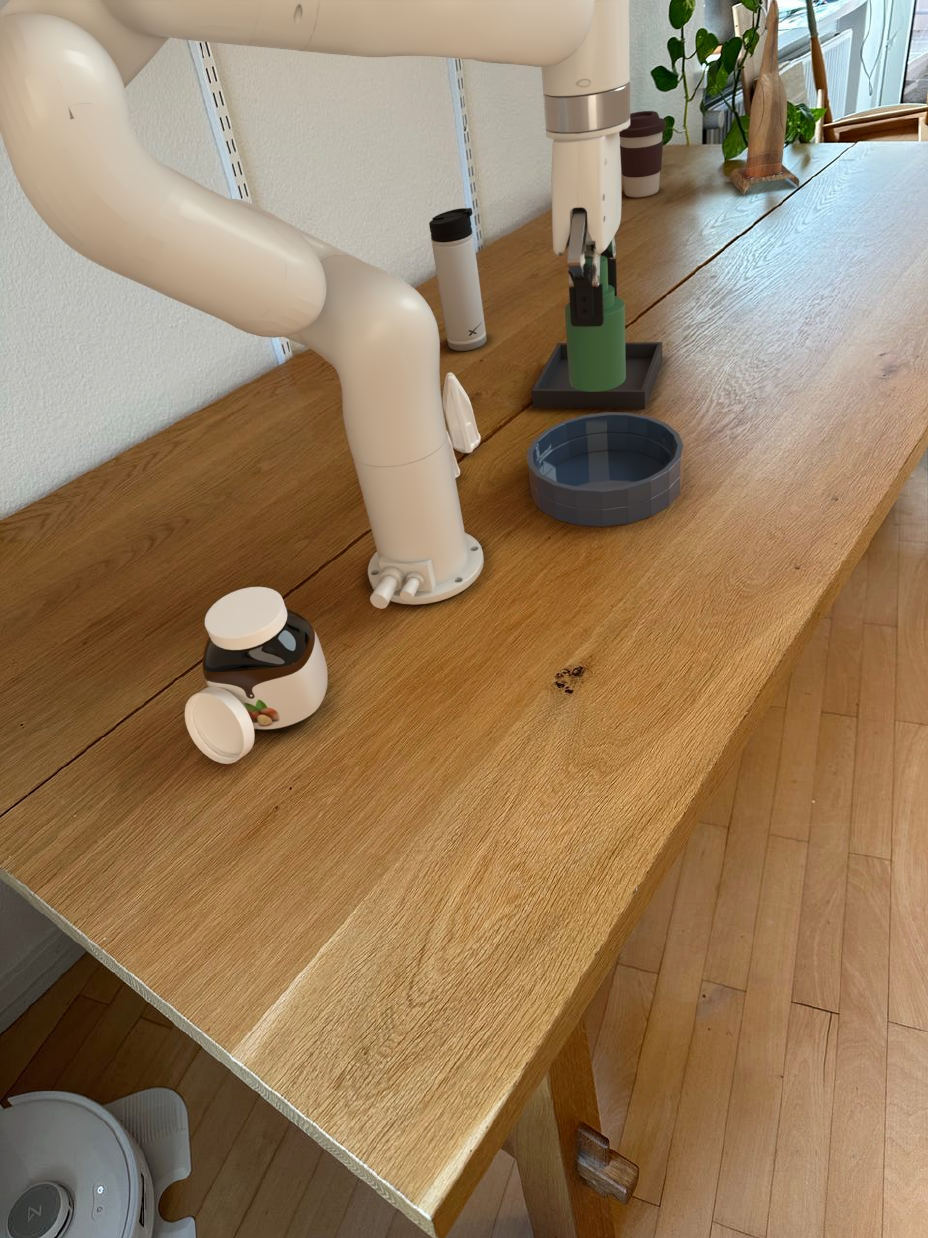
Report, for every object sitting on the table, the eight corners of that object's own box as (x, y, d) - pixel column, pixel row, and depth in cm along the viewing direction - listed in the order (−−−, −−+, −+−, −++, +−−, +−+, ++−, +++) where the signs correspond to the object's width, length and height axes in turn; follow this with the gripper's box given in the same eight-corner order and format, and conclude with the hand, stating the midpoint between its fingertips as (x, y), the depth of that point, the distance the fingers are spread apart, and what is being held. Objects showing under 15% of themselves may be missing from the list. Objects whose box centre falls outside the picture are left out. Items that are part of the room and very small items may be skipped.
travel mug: (485, 350, 136) (467, 216, 124) (444, 352, 138) (422, 220, 125) (492, 333, 141) (475, 202, 128) (452, 336, 142) (432, 206, 130)
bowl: (670, 534, 93) (670, 494, 90) (514, 524, 98) (509, 486, 95) (691, 451, 105) (692, 413, 102) (551, 446, 111) (547, 410, 107)
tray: (645, 411, 114) (644, 391, 112) (533, 409, 119) (531, 390, 117) (662, 360, 125) (662, 341, 123) (559, 360, 130) (557, 342, 128)
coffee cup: (612, 192, 191) (610, 115, 181) (655, 182, 192) (655, 105, 182) (627, 203, 183) (625, 123, 174) (672, 193, 184) (672, 113, 174)
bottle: (620, 392, 90) (617, 269, 82) (563, 391, 92) (555, 271, 84) (630, 367, 94) (629, 248, 86) (576, 366, 96) (569, 250, 88)
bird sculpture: (781, 173, 184) (796, -12, 163) (801, 187, 175) (819, -7, 154) (728, 182, 184) (736, -1, 164) (745, 197, 175) (756, 5, 155)
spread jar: (340, 673, 84) (309, 578, 76) (321, 765, 75) (283, 667, 67) (220, 683, 85) (178, 590, 78) (188, 773, 76) (138, 679, 69)
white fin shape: (460, 437, 116) (447, 358, 109) (489, 440, 114) (478, 360, 107) (421, 485, 108) (404, 403, 101) (451, 489, 106) (436, 406, 99)
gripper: (567, 94, 84) (577, 281, 96) (520, 138, 72) (537, 347, 84) (645, 87, 82) (645, 280, 93) (610, 131, 70) (615, 347, 81)
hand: (594, 310), depth 88 cm, fingers closed on bottle, 6 cm apart
